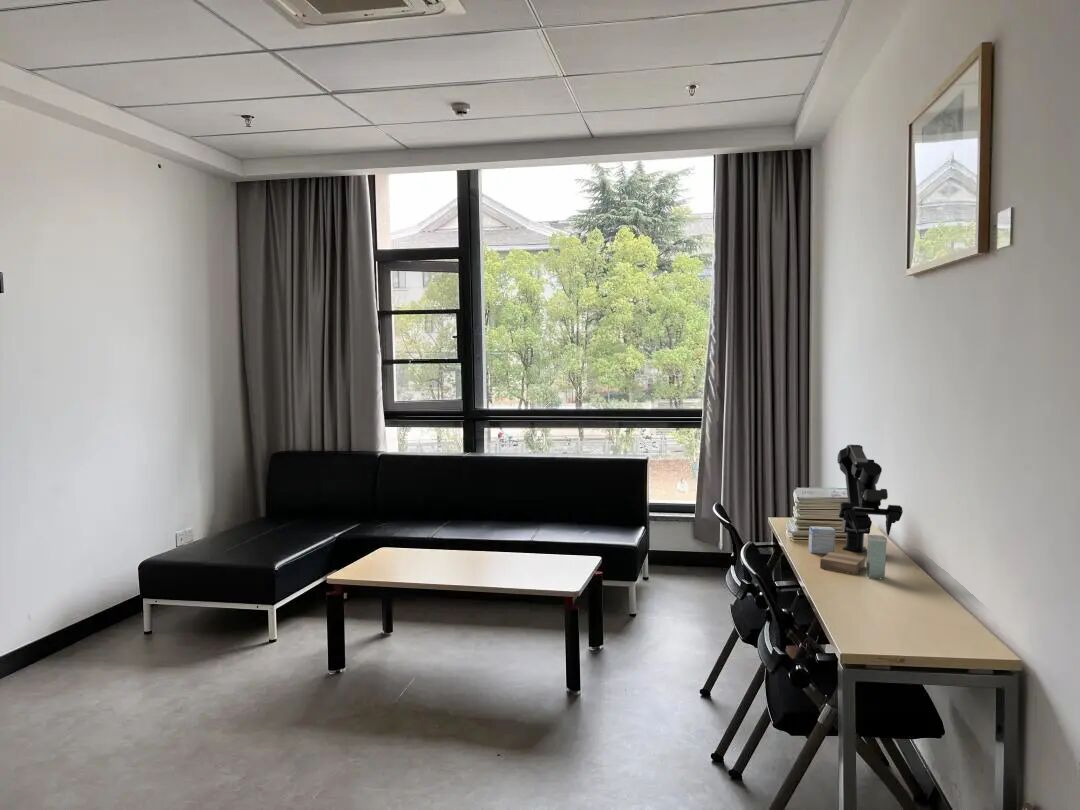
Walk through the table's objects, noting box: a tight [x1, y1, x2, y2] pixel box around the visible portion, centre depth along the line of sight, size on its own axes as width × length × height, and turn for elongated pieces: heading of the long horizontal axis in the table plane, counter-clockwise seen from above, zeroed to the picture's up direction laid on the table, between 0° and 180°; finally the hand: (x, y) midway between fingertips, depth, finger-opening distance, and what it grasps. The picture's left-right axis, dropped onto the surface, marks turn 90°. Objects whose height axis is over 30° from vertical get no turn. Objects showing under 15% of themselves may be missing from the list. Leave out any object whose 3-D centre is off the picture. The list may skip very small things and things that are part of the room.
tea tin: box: [865, 534, 888, 580], centre depth 241 cm, size 5×5×13 cm
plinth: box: [819, 551, 866, 575], centre depth 251 cm, size 11×11×3 cm
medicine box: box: [807, 525, 836, 555], centre depth 269 cm, size 8×4×9 cm, turn 84°
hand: (873, 533), depth 246 cm, fingers open, 9 cm apart
